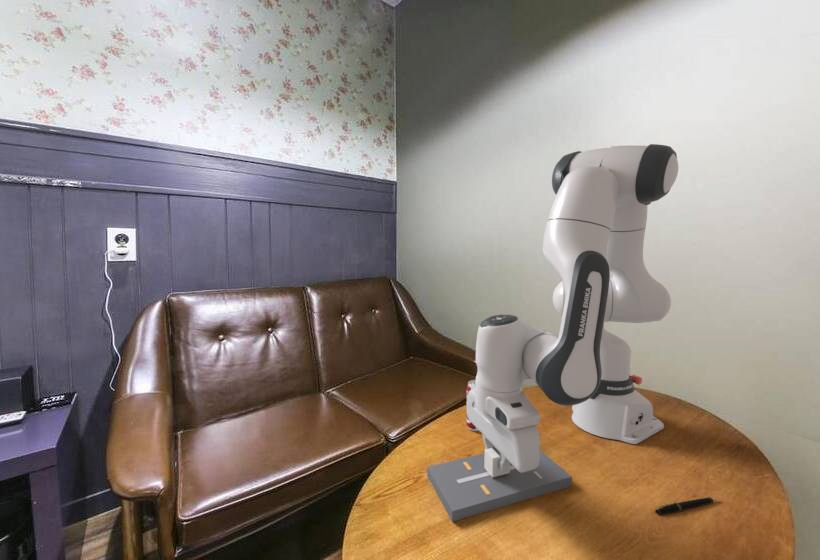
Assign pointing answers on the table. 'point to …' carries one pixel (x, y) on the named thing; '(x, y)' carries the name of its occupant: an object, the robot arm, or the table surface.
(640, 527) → the table surface
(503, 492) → the console
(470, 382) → the soda can
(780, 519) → the table surface
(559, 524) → the table surface
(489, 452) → the block
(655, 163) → the robot arm
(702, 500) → the fountain pen
